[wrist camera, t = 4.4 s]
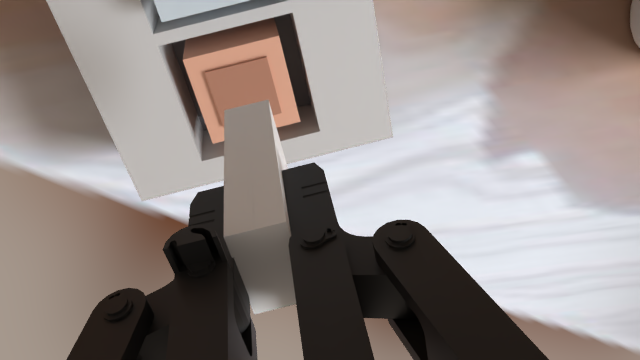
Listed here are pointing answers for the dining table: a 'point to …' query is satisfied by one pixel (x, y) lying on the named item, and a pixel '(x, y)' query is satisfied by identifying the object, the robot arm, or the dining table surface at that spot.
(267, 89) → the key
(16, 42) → the dining table surface
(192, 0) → the key mid
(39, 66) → the dining table surface
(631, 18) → the cup
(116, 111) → the keypad
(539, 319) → the dining table surface
